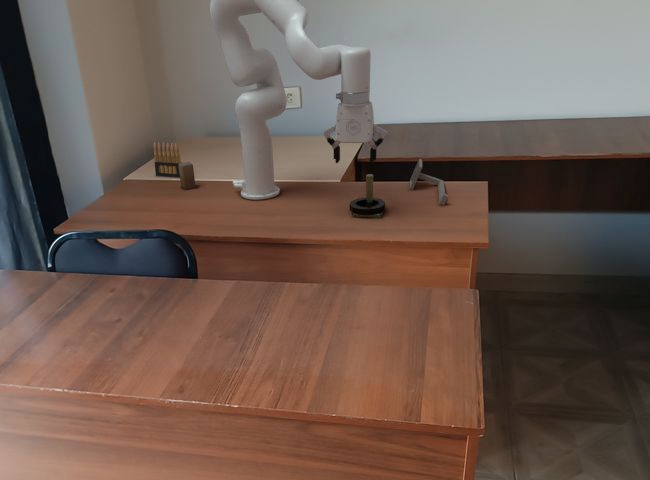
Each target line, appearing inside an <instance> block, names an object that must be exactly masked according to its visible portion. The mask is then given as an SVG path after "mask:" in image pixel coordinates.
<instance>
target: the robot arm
mask: <svg viewBox="0 0 650 480" xmlns="http://www.w3.org/2000/svg"><path fill="white" fill-rule="evenodd" d="M261 13H262V14H263V15H264V16H265V17H266V18H267V19H268V20H269V21H270V22H271V23H272V24H273V25H274V27H276V29H277V30H278V31H280V33H281V34H282V35H283V36H284V38H285V45H286V47H287V48H286V49H287V51H288V54H289V56H290V58H291V60H292V61H293V62H294V63H295V64H296V66H298V68H299V69H300V70H301V71H302V72H303V73H304V74H306V76H308V77H309V78H311V79H313V80H316V81H321V80H326V79H329V78H332V77H336V76H339V75H341V76H340V79H341V81H340V83H341V84H340V86H341V87H340V88H341V89H340V90H341V91H340V92H339V93H335V99H336V100H339V101H340V102H339V103H338V104H337V108H336V109H337V111H336V116H335V124H334V125H333V126H331V127H328V128H327V129H325V130H324V131H323V136H324V137H325V139H326V142H327V143H328V144H329V145H330V146H331V148H332V149H333V160H335V164H338V163H340V161H341V146H340V144H367V143H368V145H369V146H370V150H369V164H370V165H373V164H374V162H375V161H376V160H377V152H378V151H377V149H378V147H379V146H380V145H381V144H382V143H383V142H384V140H385V138H386V136H387V134H388V131H387V130H386V129H384V128H382V127H381V126H378V125H377V124H375V117H374V115H375V114H374V107H373V102H372V101H370V99H371V57H372V54H371V50H370V48H368V47H366V46H348V45H345V44H337V43H336V44H331V45H327V46H322V47H318V46H317V45H316V44H315V43H313V41H312V40H311V39H310V38H309V37H308V35H307V34H306V32H305V28H306V27H307V25H308V23H309V18H310V15H309V11H308V10H307V9H306V8H305V7H304V6H303V5H302V4H301V3H300V2H299V0H210V3H209V15H210V20H211V23H212V26H213V28H214V30H215V33H216V35H217V37H218V41H219V43H220V46H221V50H222V53H223V57H224V61H225V64H226V66H227V70H228V74H229V77H230V80H231V81H232V83H233V84H234V85H235V86H237V87H239V88H243V87H245V88H246V87H249V86H253V85H256V87H257V88H254V89H250V90H247V91H245V92H242V93H241V94H240V95H239V96H238V98H237V99H236V101H235V106H234V110H235V111H234V112H235V116H236V120H237V123H238V127H239V133H240V134H239V135H240V144H241V152H242V153H241V154H242V166H243V177H244V179H242V180H238V179H237V180H236V179H234V180H232V186H233V188H234V189H240V196H241V197H242V198H243V199H247V200H252V201H253V200H255V201H257V200H258V201H260V200H269V199H272V198H275V197H277V196H279V194H280V193H281V189H280V187H279V186H278V185H276V184H275V183H276V182H275V167H274V151H273V138H272V133H271V130H270V128H269V125H268V123H267V121H268V120H272V119H274V118H277V117H279V116H281V115H282V114H284V112H285V111H286V108H287V94H286V90H285V86H284V83H283V79H282V75H281V72H280V68H279V65H278V62H277V59H276V58H275V56H274V54H273V53H272V52H271V51H270V50H268V49H267V48H265V47H257V48H253V45H252V42H251V38H250V36H249V33H248V30H247V29H246V28H245V25H243V23H242V22H241V21H240V20H239V18H240V17H243V16H248V15H254V14H261ZM332 133H335V134H334V135H335V139H334V138H333V137H332ZM375 133H377V134H379V135H380V136H379V138H378V139H375V138H374V137H375Z"/></svg>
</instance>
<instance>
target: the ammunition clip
mask: <svg viewBox="0 0 650 480" xmlns="http://www.w3.org/2000/svg"><path fill="white" fill-rule="evenodd" d="M161 143H162V145H161ZM161 143H160V141H158V142H157V143H156V142H155V141H154V142H153V157H154V163H153V164H154V170H155V176H156V177H167V178H179V179H180V174H179V166H178V164H180V163H183V162H182V161H181V154H180V149H179V145H178V143H177V142H175V143H173V142H171V143H170V144H169V142H168V141H167V142H166V144H165V142H164V141H162V142H161Z"/></svg>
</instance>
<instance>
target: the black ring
mask: <svg viewBox="0 0 650 480" xmlns="http://www.w3.org/2000/svg"><path fill="white" fill-rule="evenodd" d="M348 205H349V207H348V210H349V212H351V214H353V213H354V214H358V215H374V214H379V213H381V212H383V211H384V212H385V210H386V201H385V200H383V199H382V198H378V197H373V206H372V207H361V206H364V205H366V196H365V197H359V198H355V199H353V200H350V201H349V203H348ZM384 212H383V213H384Z"/></svg>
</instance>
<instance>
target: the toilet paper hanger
mask: <svg viewBox="0 0 650 480" xmlns="http://www.w3.org/2000/svg"><path fill="white" fill-rule="evenodd" d="M422 170H423V159H421V158H419V159H418V160H417V163H416V165H415V168H414V170H413V172H412V174H411V177H410V178H409V179H410V180H409V190H411V191H413V190H414V188H415V185H416V183H417V181H418V179H420V180H422V181H425V182H427V183H430V184H434V185H437V189H438V191H437V192H438V202H439V205H441V206H445V204H446V202H447V199H448V198H449V194H447V193H446V190H445V188H446V187H445V181H444V180H442V179H440V178H437V177H434V176H431V175H429V174H425V173H423V172H421V171H422Z"/></svg>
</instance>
